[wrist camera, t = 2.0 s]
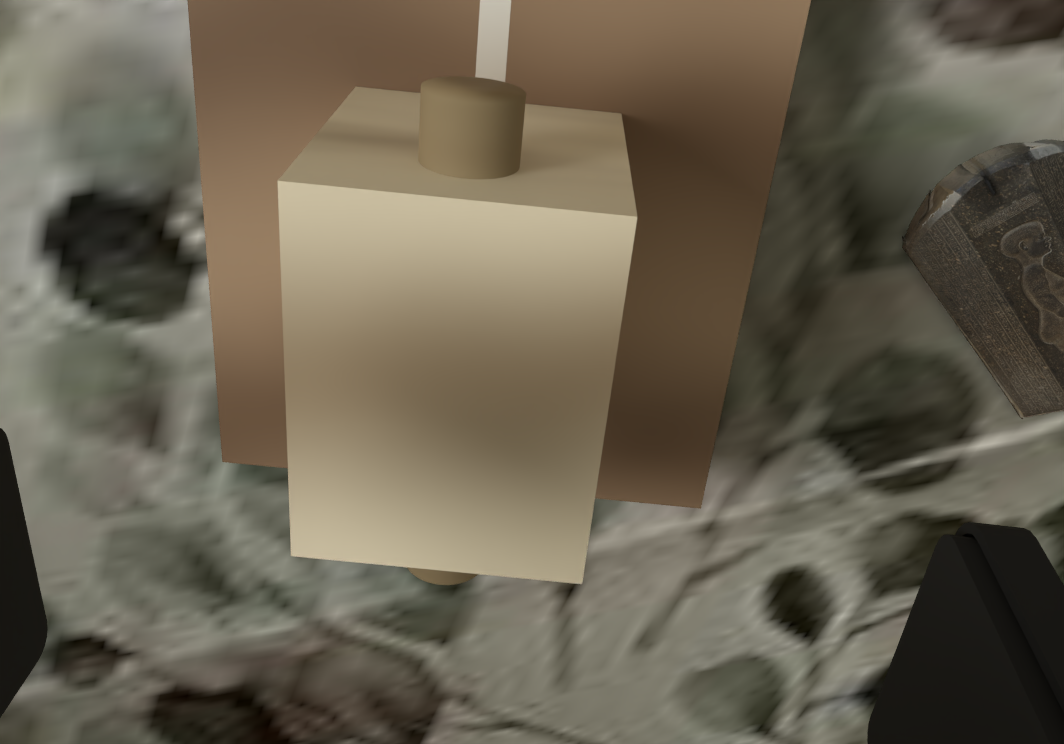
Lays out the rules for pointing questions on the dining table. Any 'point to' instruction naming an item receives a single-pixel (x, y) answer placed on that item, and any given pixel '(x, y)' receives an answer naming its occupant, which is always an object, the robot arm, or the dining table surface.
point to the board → (548, 79)
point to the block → (1002, 265)
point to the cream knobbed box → (452, 328)
